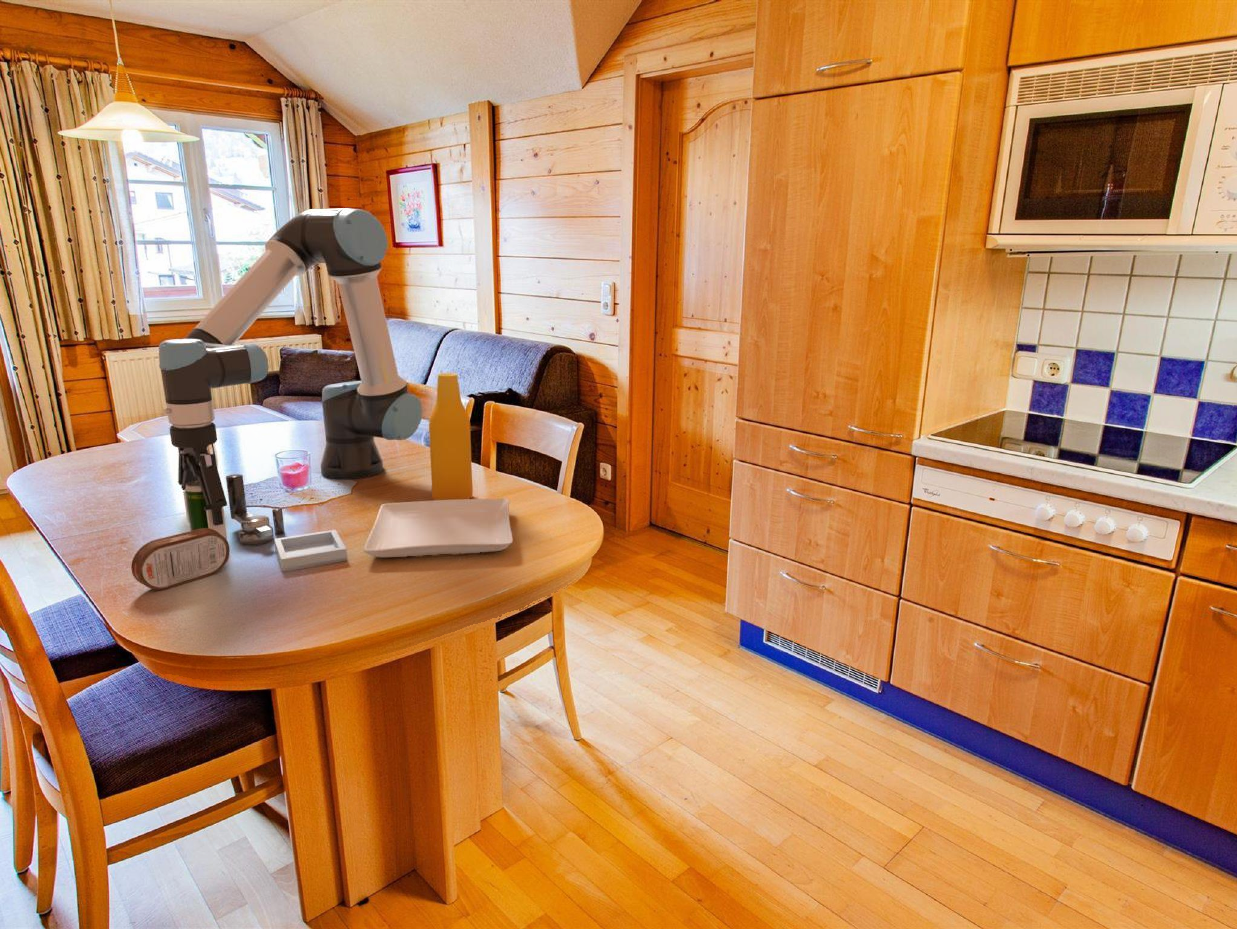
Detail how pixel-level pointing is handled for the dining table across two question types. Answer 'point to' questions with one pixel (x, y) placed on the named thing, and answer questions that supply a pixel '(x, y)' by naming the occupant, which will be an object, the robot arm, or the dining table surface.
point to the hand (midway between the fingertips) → (206, 530)
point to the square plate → (440, 528)
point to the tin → (180, 558)
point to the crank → (240, 511)
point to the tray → (310, 550)
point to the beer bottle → (450, 443)
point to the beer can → (196, 505)
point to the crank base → (255, 539)
